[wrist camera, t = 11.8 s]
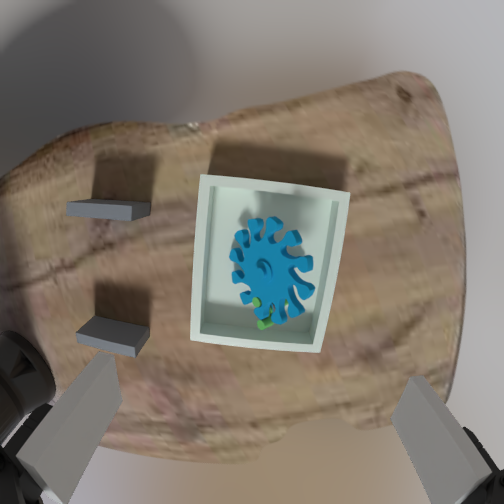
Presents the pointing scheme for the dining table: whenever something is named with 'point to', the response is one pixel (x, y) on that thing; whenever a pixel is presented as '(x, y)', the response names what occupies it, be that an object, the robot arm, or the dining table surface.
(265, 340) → the parts tray
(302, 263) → the gear
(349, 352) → the dining table surface
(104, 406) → the robot arm
